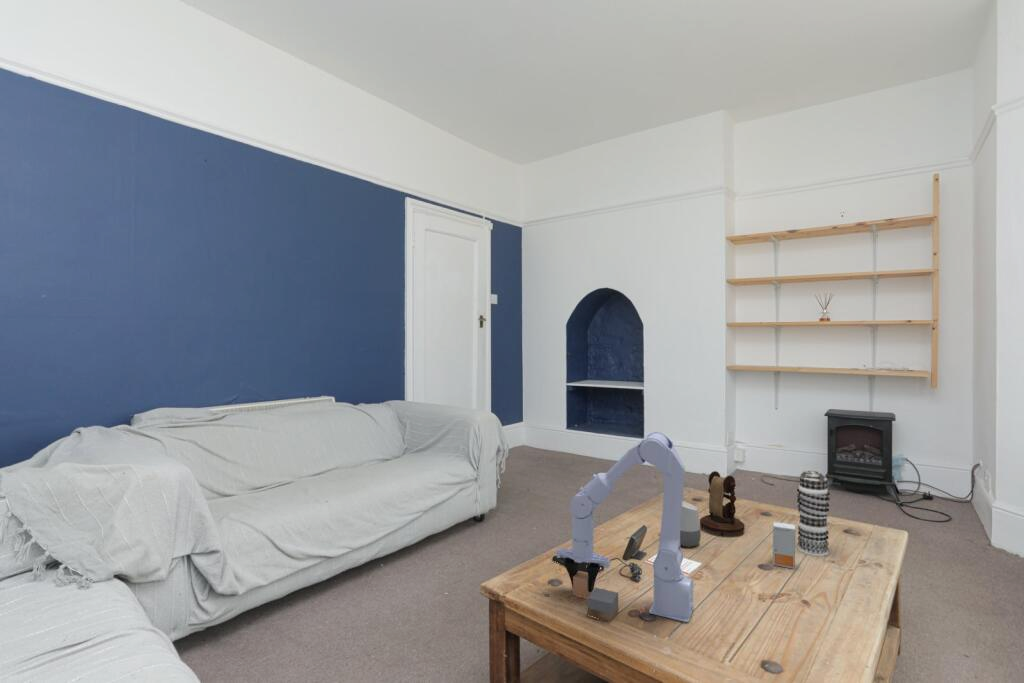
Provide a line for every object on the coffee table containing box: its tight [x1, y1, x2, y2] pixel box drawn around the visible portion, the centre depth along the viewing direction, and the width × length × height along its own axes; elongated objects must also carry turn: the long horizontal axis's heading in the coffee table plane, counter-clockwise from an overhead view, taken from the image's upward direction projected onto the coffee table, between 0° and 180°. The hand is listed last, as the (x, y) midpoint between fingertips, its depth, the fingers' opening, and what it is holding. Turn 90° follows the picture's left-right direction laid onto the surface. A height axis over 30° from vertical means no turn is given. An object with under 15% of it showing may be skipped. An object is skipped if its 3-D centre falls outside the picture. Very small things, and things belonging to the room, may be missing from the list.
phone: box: [552, 554, 588, 573], centre depth 159 cm, size 8×1×15 cm
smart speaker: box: [680, 500, 702, 548], centre depth 175 cm, size 10×9×14 cm
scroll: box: [699, 470, 746, 537], centre depth 187 cm, size 15×15×20 cm
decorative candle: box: [796, 470, 831, 557], centre depth 168 cm, size 9×9×25 cm
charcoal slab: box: [587, 587, 619, 614], centre depth 131 cm, size 6×6×2 cm
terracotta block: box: [572, 571, 592, 599], centre depth 141 cm, size 4×4×5 cm
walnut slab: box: [586, 603, 619, 623], centre depth 131 cm, size 6×6×2 cm
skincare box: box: [772, 521, 797, 570], centre depth 158 cm, size 6×4×12 cm
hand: (582, 588), depth 141 cm, fingers closed on terracotta block, 4 cm apart
